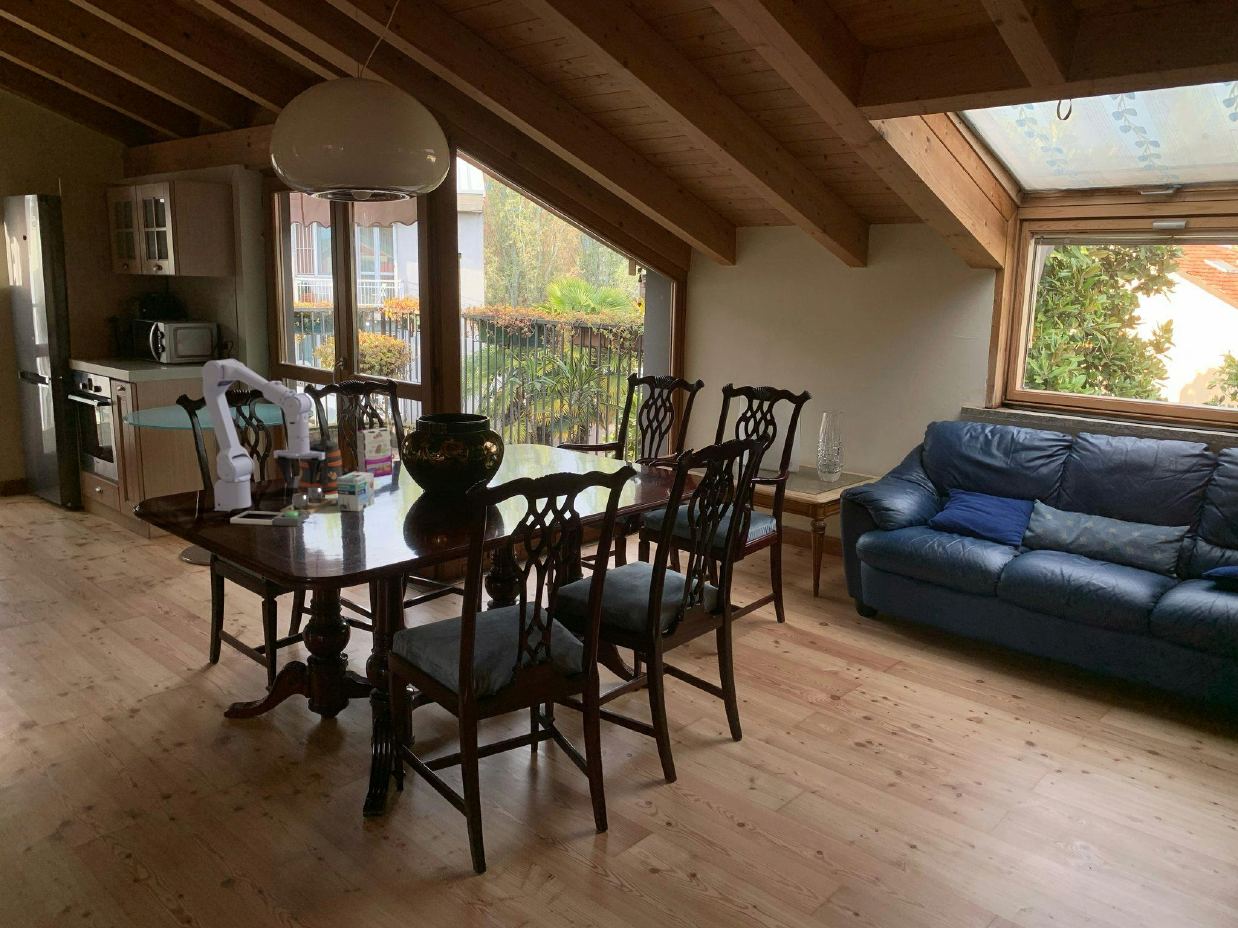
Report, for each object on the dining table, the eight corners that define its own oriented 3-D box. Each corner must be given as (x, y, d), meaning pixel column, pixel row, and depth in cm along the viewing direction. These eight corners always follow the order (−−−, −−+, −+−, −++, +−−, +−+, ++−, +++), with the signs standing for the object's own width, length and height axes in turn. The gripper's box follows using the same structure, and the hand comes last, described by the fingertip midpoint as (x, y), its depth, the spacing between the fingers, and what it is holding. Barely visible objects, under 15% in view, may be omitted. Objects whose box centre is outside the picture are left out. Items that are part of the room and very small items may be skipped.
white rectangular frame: (230, 524, 257) (230, 518, 257) (247, 516, 266) (247, 510, 266) (272, 526, 256) (271, 520, 255) (287, 518, 265) (287, 512, 264)
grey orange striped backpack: (355, 499, 290) (353, 435, 287) (307, 503, 283) (304, 439, 279) (339, 487, 306) (337, 427, 303) (293, 491, 299) (290, 430, 295)
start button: (282, 520, 257) (282, 513, 257) (288, 517, 260) (288, 510, 260) (294, 521, 256) (294, 514, 256) (300, 518, 260) (300, 511, 260)
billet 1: (290, 512, 267) (289, 495, 266) (299, 509, 271) (298, 492, 270) (302, 513, 266) (301, 496, 265) (310, 510, 269) (310, 493, 269)
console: (273, 526, 256) (273, 517, 255) (285, 520, 262) (285, 511, 262) (297, 527, 255) (297, 519, 254) (309, 521, 262) (309, 513, 261)
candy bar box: (384, 472, 332) (383, 427, 329) (393, 474, 329) (391, 428, 326) (357, 476, 324) (356, 430, 321) (365, 478, 321) (364, 431, 318)
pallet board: (280, 517, 266) (280, 509, 265) (307, 504, 282) (307, 497, 282) (310, 518, 265) (310, 511, 264) (335, 505, 281) (335, 498, 281)
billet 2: (306, 505, 276) (305, 488, 275) (312, 502, 280) (311, 485, 279) (319, 505, 276) (318, 489, 275) (325, 502, 279) (324, 486, 278)
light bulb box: (358, 515, 270) (357, 479, 268) (337, 513, 271) (336, 477, 269) (375, 507, 280) (374, 472, 278) (354, 505, 282) (353, 470, 280)
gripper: (267, 437, 262) (269, 484, 264) (316, 439, 260) (318, 487, 263) (279, 433, 269) (281, 479, 271) (327, 435, 267) (329, 482, 270)
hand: (300, 483), depth 267 cm, fingers open, 7 cm apart
